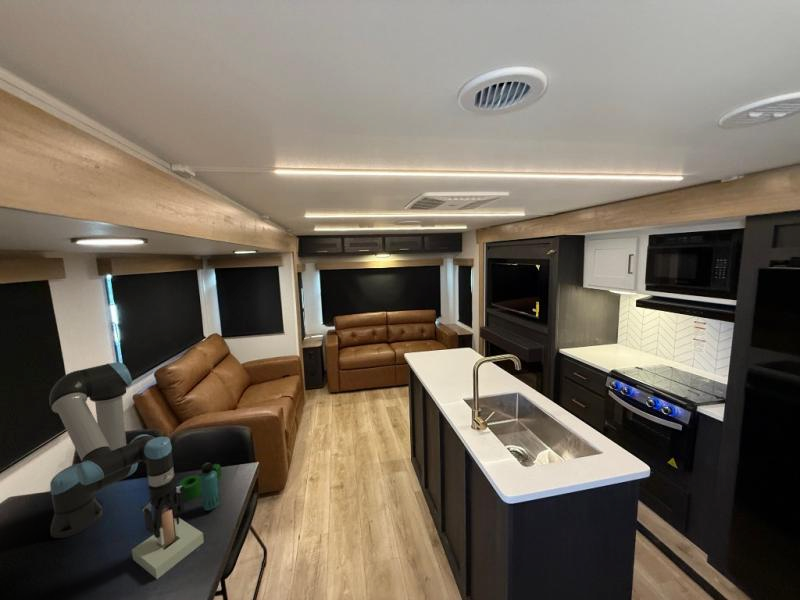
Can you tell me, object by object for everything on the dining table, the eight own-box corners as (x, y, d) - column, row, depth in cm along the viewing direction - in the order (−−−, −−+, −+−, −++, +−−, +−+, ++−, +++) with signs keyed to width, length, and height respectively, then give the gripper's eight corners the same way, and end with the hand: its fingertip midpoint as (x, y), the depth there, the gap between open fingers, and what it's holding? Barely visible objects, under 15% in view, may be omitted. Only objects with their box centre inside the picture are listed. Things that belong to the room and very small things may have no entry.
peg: (159, 543, 118) (156, 513, 116) (171, 534, 121) (168, 506, 120) (165, 547, 116) (162, 517, 115) (177, 538, 120) (174, 509, 118)
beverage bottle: (207, 516, 135) (203, 472, 133) (199, 509, 139) (195, 467, 136) (223, 506, 141) (219, 464, 138) (214, 500, 144) (211, 459, 142)
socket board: (133, 559, 116) (131, 549, 115) (179, 526, 130) (178, 517, 129) (157, 579, 109) (155, 568, 108) (203, 542, 123) (202, 532, 122)
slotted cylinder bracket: (190, 502, 143) (189, 489, 142) (174, 499, 145) (173, 486, 144) (221, 476, 160) (220, 464, 159) (206, 473, 162) (205, 462, 162)
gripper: (139, 499, 106) (147, 561, 109) (192, 469, 121) (197, 525, 124) (128, 492, 110) (135, 552, 113) (180, 464, 125) (186, 518, 128)
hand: (168, 538), depth 119 cm, fingers closed on peg, 4 cm apart
